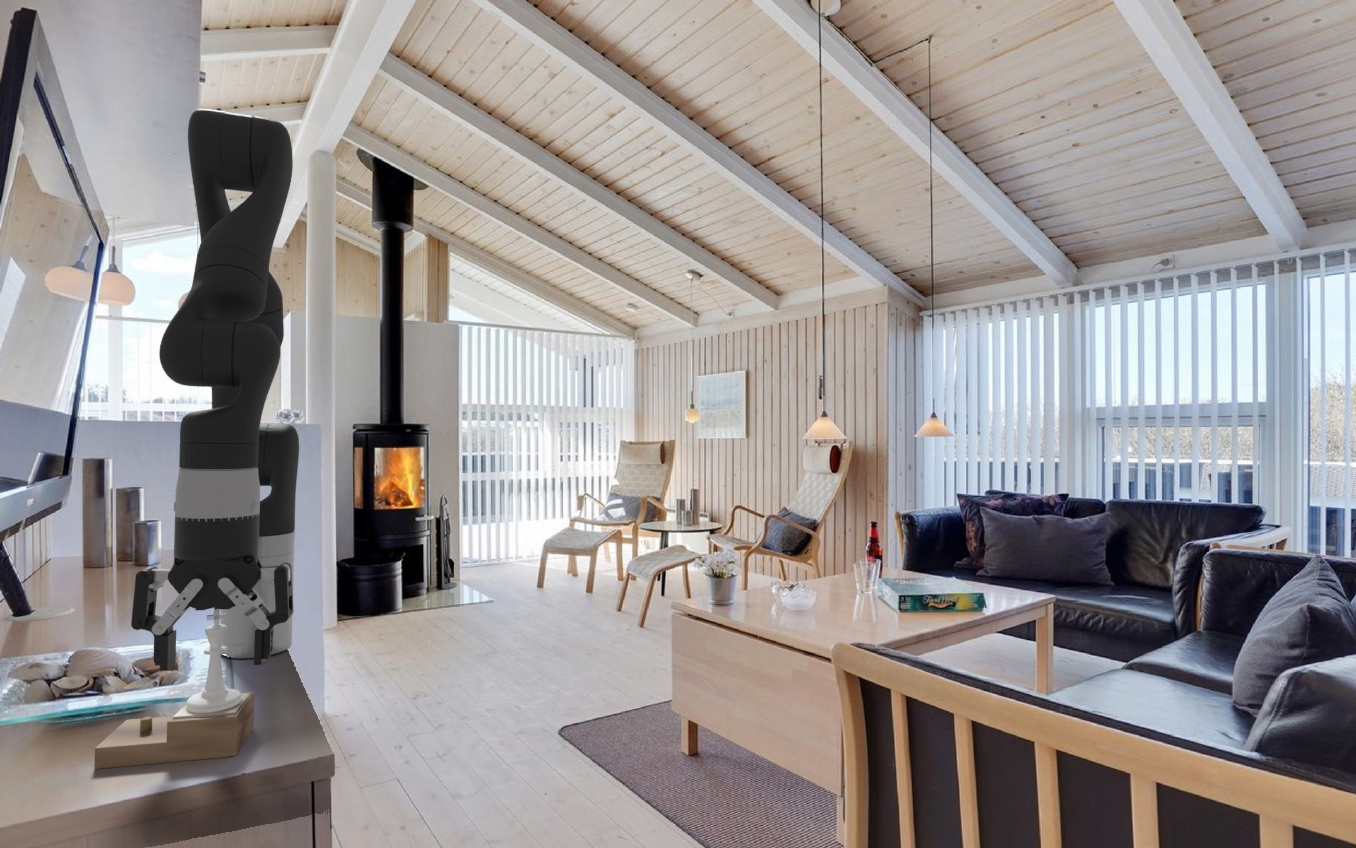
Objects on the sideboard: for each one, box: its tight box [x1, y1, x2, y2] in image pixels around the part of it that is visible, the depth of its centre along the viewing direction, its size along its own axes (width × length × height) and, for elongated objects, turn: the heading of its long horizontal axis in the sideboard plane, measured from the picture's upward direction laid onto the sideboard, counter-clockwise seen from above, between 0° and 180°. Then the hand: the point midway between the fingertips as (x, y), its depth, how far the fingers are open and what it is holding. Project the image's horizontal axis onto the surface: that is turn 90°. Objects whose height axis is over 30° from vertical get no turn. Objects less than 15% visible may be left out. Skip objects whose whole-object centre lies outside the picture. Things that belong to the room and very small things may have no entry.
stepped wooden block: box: [93, 691, 256, 770], centre depth 76 cm, size 7×12×4 cm, turn 106°
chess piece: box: [186, 608, 242, 713], centre depth 77 cm, size 5×5×10 cm
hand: (214, 665), depth 77 cm, fingers open, 8 cm apart
